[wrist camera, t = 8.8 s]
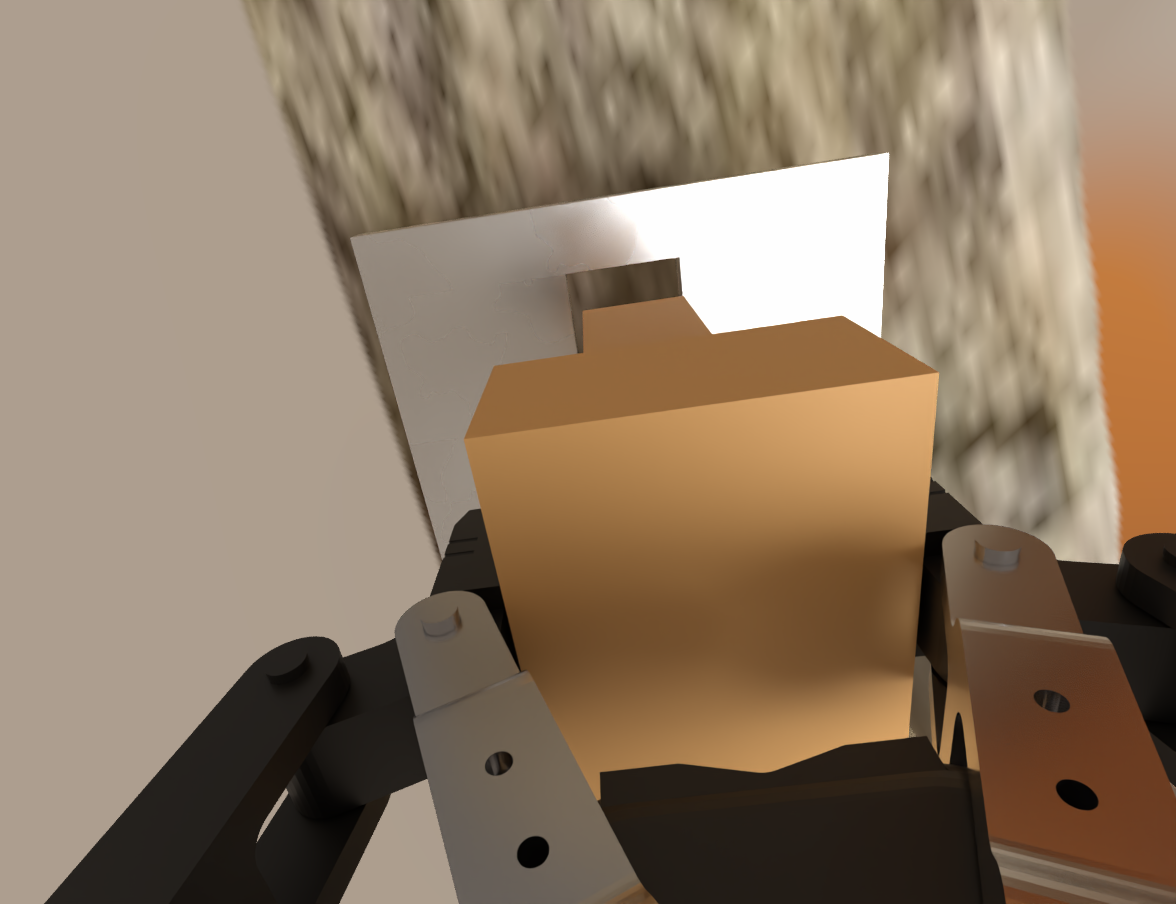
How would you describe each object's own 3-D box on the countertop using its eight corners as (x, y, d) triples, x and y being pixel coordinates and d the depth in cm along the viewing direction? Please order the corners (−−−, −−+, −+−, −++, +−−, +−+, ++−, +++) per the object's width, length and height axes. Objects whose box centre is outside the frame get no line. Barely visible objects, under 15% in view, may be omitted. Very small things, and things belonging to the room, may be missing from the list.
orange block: (725, 245, 18) (938, 372, 7) (737, 464, 21) (904, 787, 10) (531, 274, 19) (463, 439, 8) (569, 486, 22) (559, 824, 11)
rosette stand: (789, 154, 31) (912, 152, 19) (794, 513, 39) (882, 660, 28) (422, 212, 32) (333, 243, 20) (503, 551, 40) (471, 708, 29)
